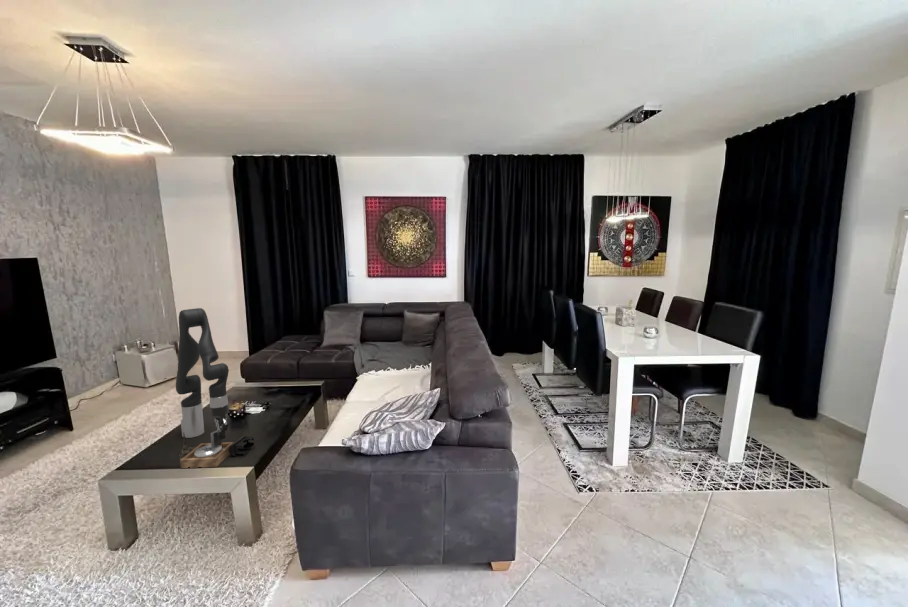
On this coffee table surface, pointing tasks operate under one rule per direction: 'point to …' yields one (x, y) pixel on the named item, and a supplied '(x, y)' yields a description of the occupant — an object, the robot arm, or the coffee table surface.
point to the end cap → (241, 446)
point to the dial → (210, 447)
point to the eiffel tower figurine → (184, 451)
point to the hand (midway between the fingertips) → (222, 438)
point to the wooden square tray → (205, 462)
